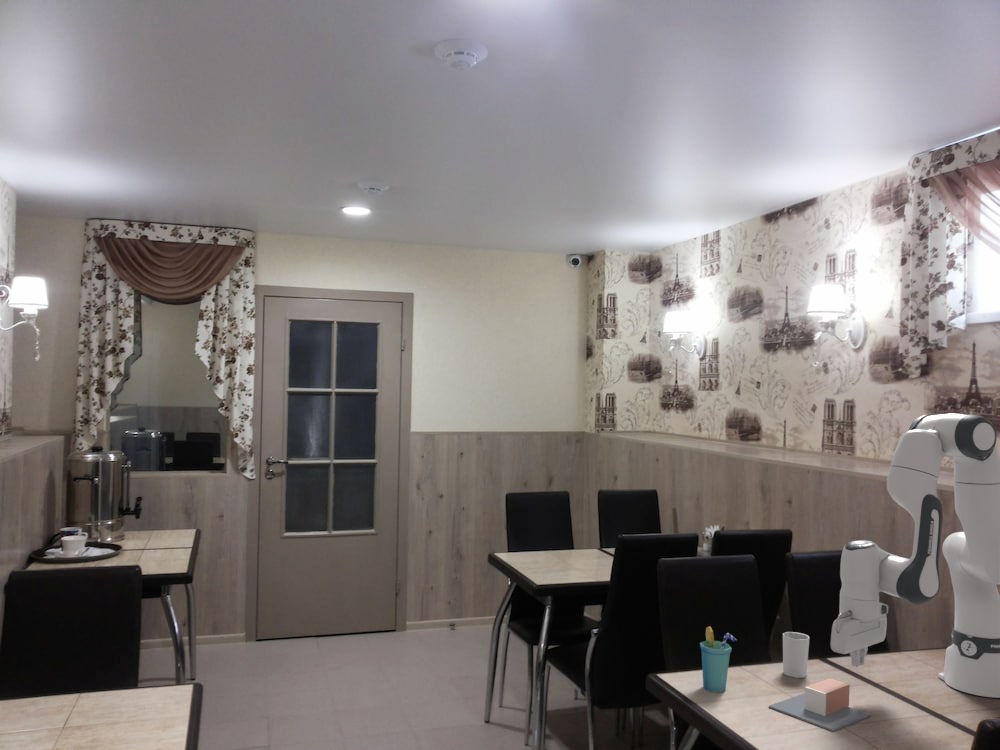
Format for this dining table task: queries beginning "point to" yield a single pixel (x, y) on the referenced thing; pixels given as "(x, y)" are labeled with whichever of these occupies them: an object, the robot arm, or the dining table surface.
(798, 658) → the drinking glass
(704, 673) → the cup
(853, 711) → the mat
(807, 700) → the block
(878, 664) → the dining table surface
